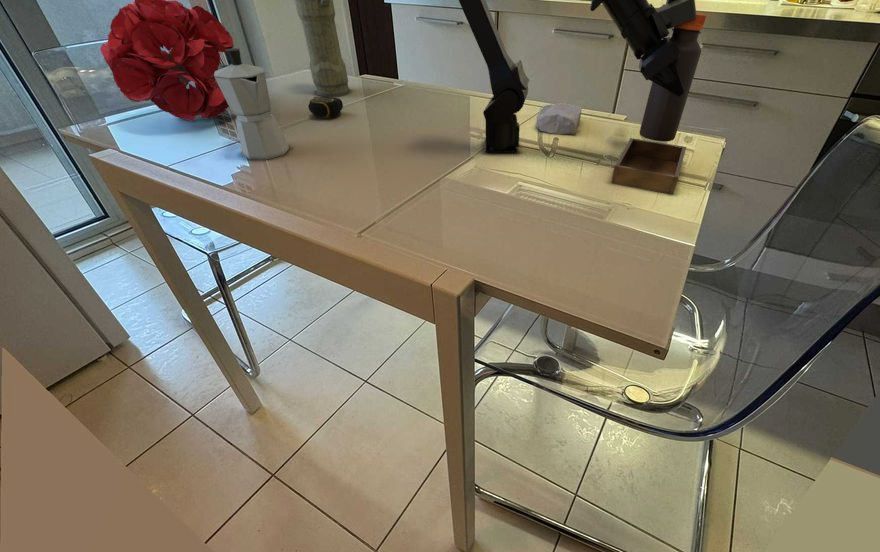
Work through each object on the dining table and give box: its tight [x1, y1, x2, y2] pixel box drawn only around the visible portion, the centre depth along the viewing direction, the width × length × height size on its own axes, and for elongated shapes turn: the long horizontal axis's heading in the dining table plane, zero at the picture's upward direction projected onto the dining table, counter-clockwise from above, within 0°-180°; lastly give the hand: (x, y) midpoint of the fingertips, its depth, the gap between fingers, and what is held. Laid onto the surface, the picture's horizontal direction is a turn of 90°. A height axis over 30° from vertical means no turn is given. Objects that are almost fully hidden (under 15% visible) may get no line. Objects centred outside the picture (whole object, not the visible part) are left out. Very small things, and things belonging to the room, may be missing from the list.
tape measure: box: [308, 96, 344, 119], centre depth 104 cm, size 7×7×4 cm
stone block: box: [536, 102, 583, 135], centre depth 103 cm, size 12×5×10 cm
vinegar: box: [639, 13, 707, 142], centre depth 80 cm, size 7×7×20 cm
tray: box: [611, 137, 687, 195], centre depth 84 cm, size 11×15×3 cm
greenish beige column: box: [294, 0, 350, 98], centre depth 109 cm, size 9×12×35 cm
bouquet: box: [99, 0, 235, 122], centre depth 99 cm, size 22×24×30 cm
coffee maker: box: [214, 47, 290, 161], centre depth 83 cm, size 15×9×18 cm, turn 47°
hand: (678, 89), depth 81 cm, fingers closed on vinegar, 7 cm apart
